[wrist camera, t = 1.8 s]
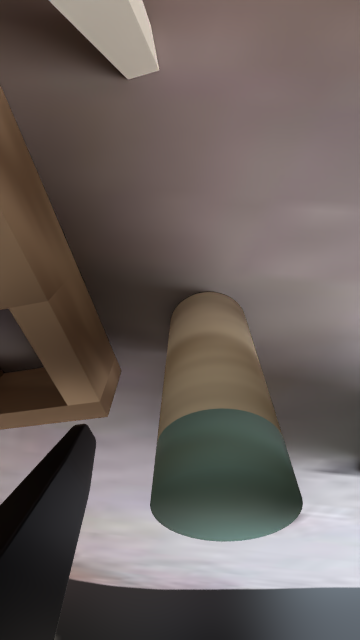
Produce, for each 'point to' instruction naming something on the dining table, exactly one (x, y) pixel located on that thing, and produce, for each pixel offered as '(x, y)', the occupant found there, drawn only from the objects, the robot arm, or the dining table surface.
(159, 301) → the dining table surface
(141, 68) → the footed pink board
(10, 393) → the socket block
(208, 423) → the peg
